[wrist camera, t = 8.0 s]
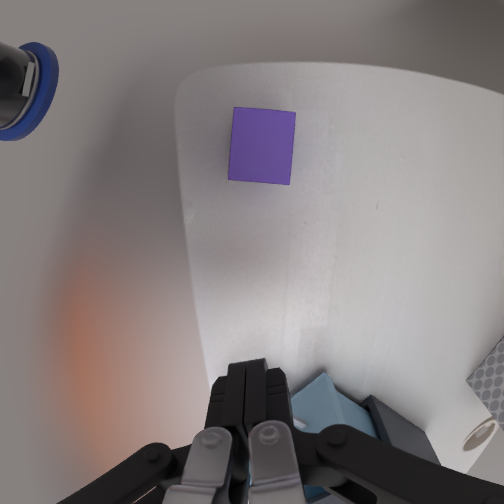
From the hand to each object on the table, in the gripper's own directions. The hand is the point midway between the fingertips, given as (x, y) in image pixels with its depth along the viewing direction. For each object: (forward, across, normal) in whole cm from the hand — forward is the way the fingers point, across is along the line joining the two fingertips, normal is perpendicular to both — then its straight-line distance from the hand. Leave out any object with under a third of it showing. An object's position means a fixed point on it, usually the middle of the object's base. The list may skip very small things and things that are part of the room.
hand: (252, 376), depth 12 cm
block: (+13, -3, -9) cm, 16 cm away
